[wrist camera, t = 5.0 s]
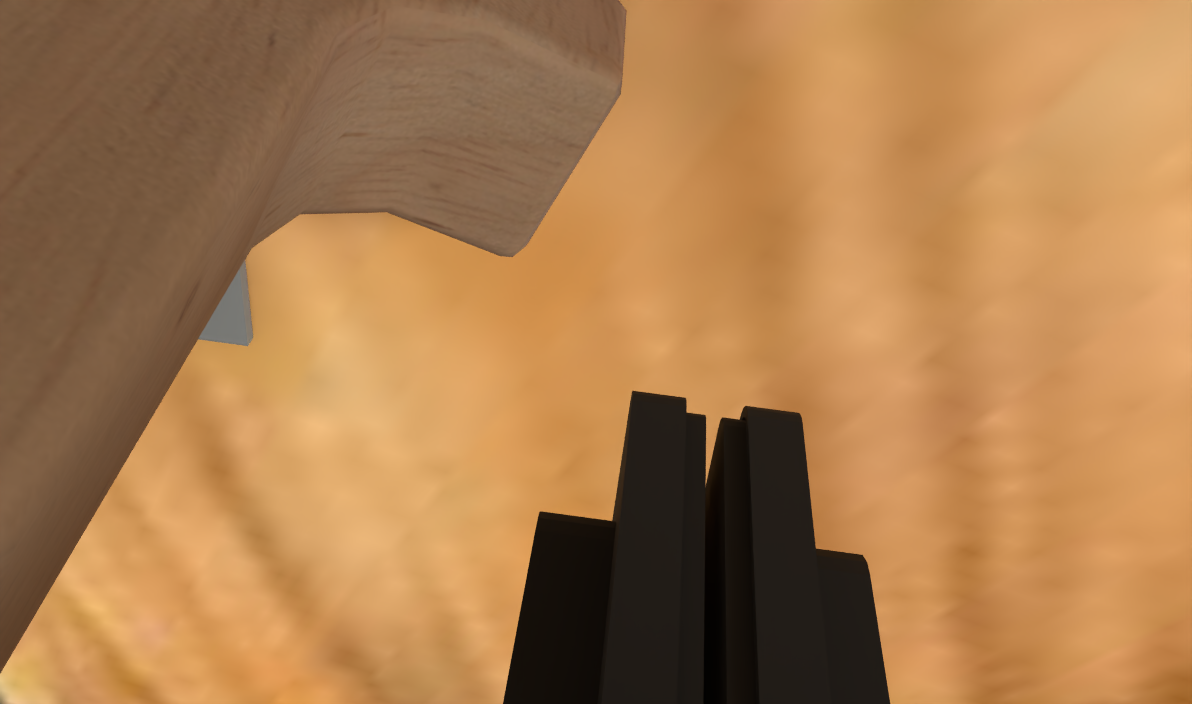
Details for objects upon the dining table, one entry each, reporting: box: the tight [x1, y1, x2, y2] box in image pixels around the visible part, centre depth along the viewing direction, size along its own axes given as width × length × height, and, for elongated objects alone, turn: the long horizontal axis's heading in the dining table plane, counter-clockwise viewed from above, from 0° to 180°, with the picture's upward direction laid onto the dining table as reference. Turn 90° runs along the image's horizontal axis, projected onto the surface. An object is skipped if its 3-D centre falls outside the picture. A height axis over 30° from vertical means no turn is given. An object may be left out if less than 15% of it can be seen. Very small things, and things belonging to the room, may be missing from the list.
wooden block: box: [0, 0, 626, 673], centre depth 15 cm, size 9×4×18 cm, turn 60°
